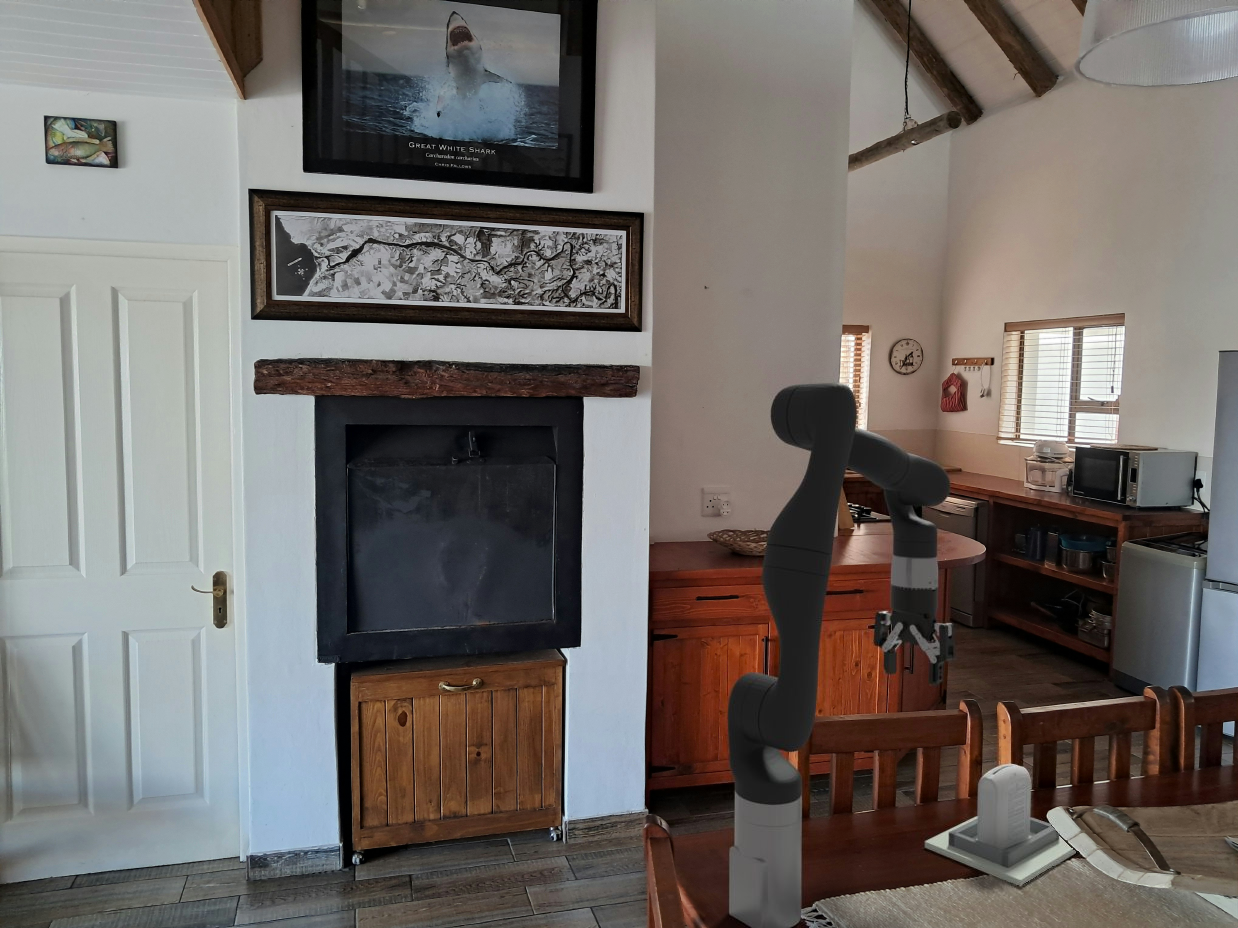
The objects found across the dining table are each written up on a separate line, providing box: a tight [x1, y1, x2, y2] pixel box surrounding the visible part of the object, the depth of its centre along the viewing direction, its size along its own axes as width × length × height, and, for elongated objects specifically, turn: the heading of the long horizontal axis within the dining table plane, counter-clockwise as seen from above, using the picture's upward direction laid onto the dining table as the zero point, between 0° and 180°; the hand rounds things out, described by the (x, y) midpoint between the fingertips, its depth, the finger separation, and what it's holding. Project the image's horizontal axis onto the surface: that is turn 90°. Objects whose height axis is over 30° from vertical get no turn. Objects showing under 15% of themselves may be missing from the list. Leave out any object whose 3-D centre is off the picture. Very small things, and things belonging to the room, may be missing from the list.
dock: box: [924, 815, 1076, 888], centre depth 144 cm, size 20×16×3 cm
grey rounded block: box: [977, 763, 1032, 850], centre depth 144 cm, size 10×4×12 cm, turn 124°
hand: (912, 679), depth 149 cm, fingers open, 8 cm apart
